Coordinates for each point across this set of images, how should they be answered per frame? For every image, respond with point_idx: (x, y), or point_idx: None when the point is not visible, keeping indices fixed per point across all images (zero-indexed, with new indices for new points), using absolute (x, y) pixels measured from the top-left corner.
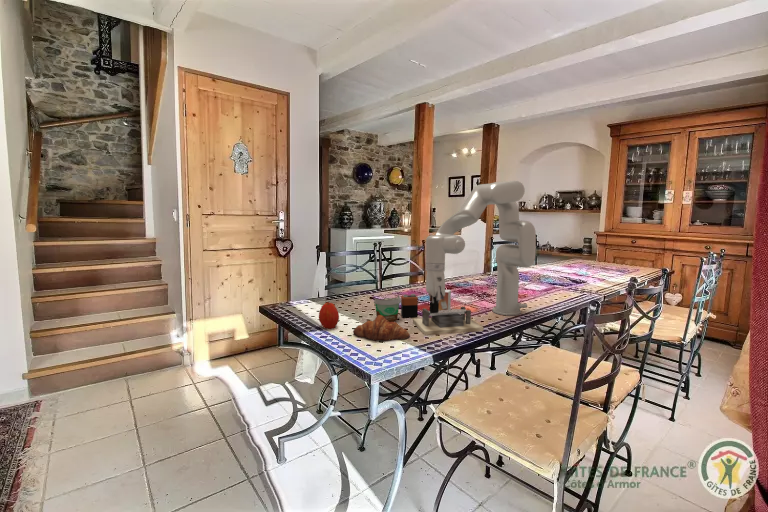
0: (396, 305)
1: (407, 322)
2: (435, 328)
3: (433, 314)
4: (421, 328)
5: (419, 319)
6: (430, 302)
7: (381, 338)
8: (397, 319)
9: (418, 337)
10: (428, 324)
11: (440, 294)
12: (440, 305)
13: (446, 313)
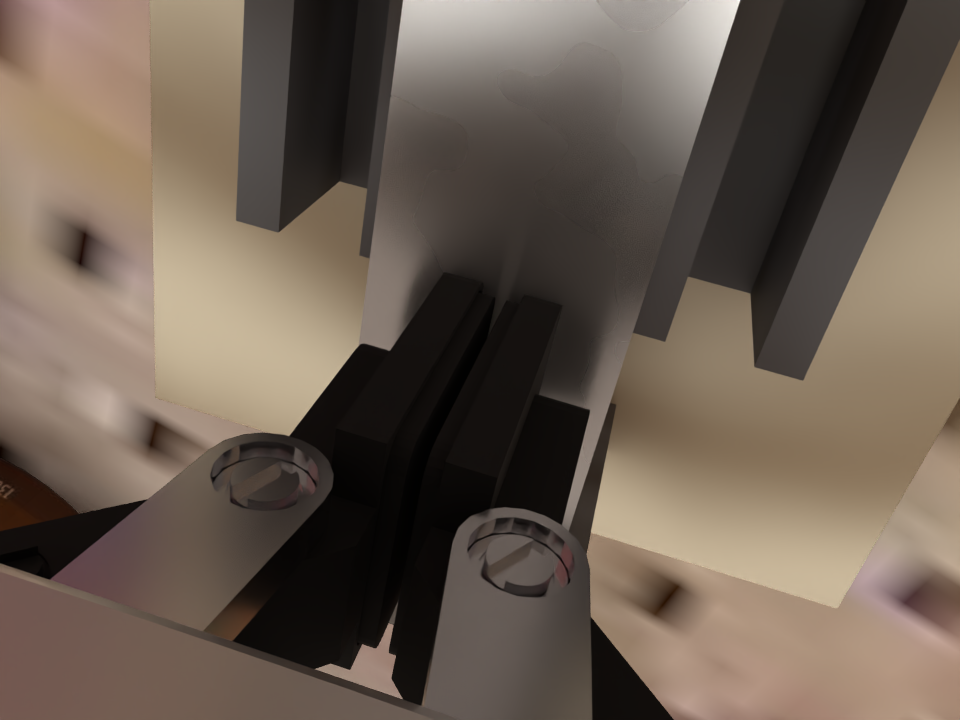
0: None
1: (162, 425)
2: (810, 386)
3: (594, 446)
4: (631, 534)
5: (199, 319)
6: (349, 659)
7: None
8: (27, 482)
9: (843, 670)
10: (609, 425)
11: (305, 669)
12: None
13: (711, 69)
